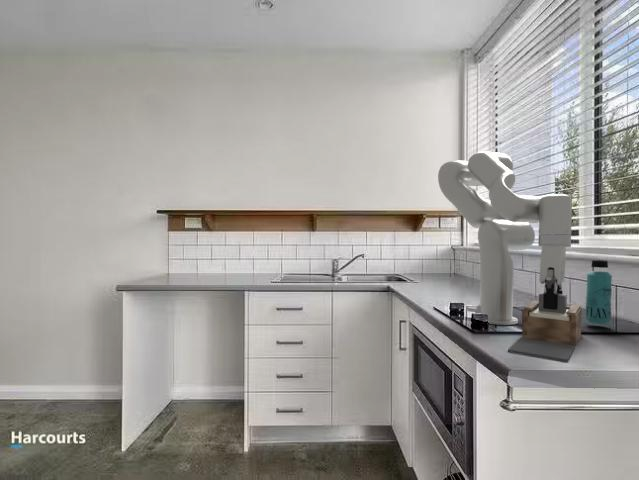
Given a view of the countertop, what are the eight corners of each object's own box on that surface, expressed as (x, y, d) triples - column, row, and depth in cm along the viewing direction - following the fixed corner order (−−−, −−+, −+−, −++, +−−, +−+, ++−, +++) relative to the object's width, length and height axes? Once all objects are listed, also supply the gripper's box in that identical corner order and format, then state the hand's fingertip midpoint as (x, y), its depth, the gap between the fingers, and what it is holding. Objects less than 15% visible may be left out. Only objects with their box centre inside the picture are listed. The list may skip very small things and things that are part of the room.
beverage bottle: (580, 326, 125) (582, 259, 125) (590, 323, 129) (592, 259, 128) (605, 330, 120) (607, 261, 119) (614, 327, 124) (616, 260, 123)
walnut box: (522, 338, 109) (522, 307, 109) (532, 328, 120) (532, 300, 120) (575, 346, 102) (576, 313, 102) (580, 335, 113) (581, 305, 113)
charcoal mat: (507, 352, 96) (507, 349, 96) (520, 339, 108) (520, 337, 108) (567, 362, 89) (567, 359, 89) (574, 348, 100) (574, 345, 100)
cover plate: (529, 316, 109) (529, 295, 108) (537, 309, 118) (538, 290, 118) (569, 320, 103) (570, 298, 103) (574, 313, 113) (575, 293, 113)
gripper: (543, 240, 119) (542, 301, 120) (532, 241, 106) (531, 309, 106) (574, 241, 115) (572, 304, 115) (566, 242, 101) (565, 313, 101)
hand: (552, 306), depth 111 cm, fingers open, 8 cm apart
